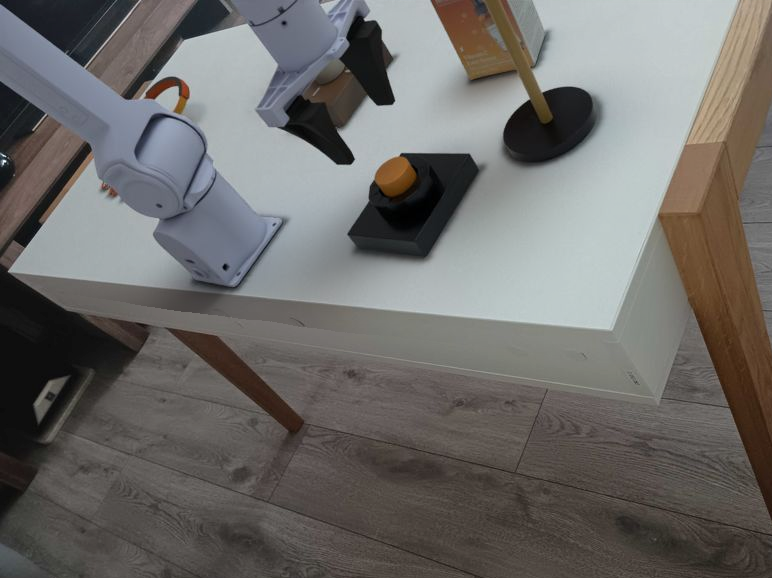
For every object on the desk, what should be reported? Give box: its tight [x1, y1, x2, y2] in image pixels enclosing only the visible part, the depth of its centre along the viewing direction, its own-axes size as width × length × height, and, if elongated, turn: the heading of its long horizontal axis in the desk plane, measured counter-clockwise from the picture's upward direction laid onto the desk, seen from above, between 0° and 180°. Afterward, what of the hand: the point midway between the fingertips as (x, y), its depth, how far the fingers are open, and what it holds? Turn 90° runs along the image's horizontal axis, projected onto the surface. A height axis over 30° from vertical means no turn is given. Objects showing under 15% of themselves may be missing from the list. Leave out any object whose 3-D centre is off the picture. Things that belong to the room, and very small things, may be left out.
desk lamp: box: [484, 0, 598, 164], centre depth 63 cm, size 10×10×24 cm
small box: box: [429, 0, 546, 80], centre depth 78 cm, size 8×6×10 cm
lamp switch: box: [373, 156, 417, 197], centre depth 70 cm, size 4×4×2 cm
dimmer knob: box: [315, 59, 345, 84], centre depth 91 cm, size 4×4×4 cm
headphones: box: [101, 76, 191, 197], centre depth 109 cm, size 17×5×20 cm
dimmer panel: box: [302, 39, 394, 127], centre depth 93 cm, size 12×9×3 cm
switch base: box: [346, 152, 480, 257], centre depth 72 cm, size 11×9×4 cm
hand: (366, 132), depth 70 cm, fingers open, 7 cm apart
